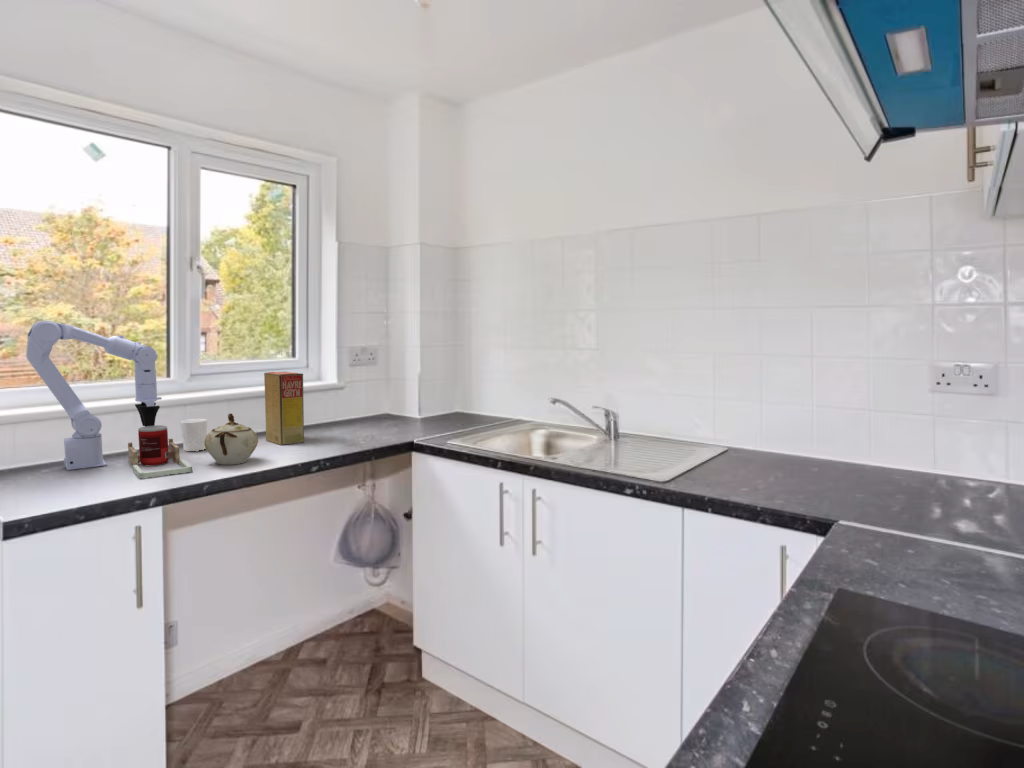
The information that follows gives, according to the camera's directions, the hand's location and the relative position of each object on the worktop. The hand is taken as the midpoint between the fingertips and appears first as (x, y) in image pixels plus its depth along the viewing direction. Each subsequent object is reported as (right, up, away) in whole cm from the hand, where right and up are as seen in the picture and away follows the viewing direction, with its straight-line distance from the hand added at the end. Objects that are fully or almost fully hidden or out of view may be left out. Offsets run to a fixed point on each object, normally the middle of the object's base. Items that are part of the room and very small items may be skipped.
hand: (148, 426), depth 192 cm
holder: (+6, -11, -6) cm, 13 cm away
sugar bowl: (+29, -11, -4) cm, 31 cm away
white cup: (+8, -9, +14) cm, 18 cm away
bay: (+14, -12, -16) cm, 24 cm away
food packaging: (+32, -8, +29) cm, 44 cm away
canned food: (+6, -11, -6) cm, 14 cm away
